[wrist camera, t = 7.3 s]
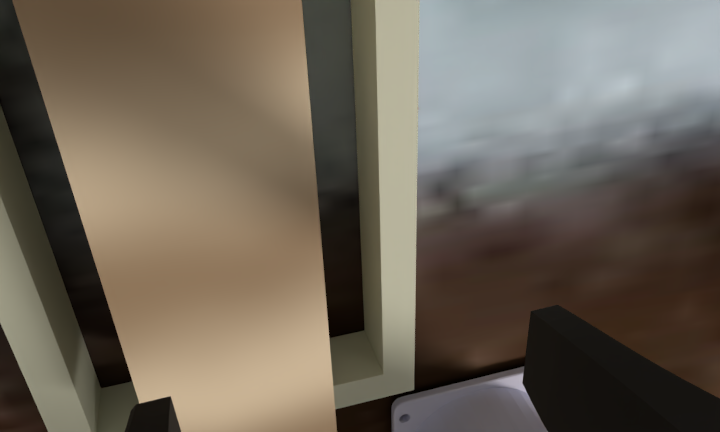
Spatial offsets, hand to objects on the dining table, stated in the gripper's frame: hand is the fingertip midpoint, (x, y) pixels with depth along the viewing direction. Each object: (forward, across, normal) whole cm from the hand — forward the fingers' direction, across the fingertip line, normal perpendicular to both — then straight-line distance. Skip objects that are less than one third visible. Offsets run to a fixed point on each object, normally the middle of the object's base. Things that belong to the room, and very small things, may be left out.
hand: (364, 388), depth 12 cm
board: (+8, +2, -1) cm, 8 cm away
